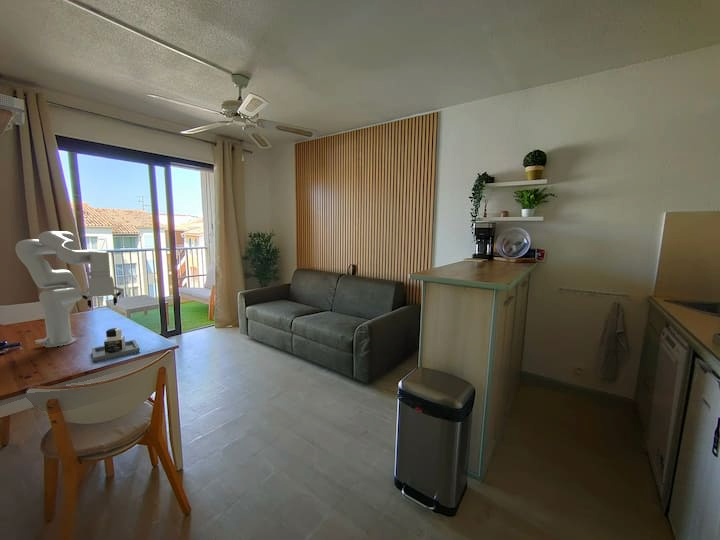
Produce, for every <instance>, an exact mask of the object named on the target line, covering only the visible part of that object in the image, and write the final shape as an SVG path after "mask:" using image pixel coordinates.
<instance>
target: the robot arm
mask: <svg viewBox="0 0 720 540" xmlns="http://www.w3.org/2000/svg"><path fill="white" fill-rule="evenodd" d="M76 242H77V238H76V236H75V234H74V233H72V232H70V231H66V230H64V231H62V230H61V231H60V230H59V231H58V230H52V231H51V230H49V231H47V230H46V231H43V232H41V233H40V234H39V235H37V238H32V239H29V238H28V239H23V240H19V241H18V242H17V243H16V245H15V253H16V255H17V257H18V258H19V260H20V261H21V262H22V264H23V265H25V267H26V268H27V270H28V272H29V274H30V276H31V278H32V280H33V282H34V284H35V285H36V286H37V287H38V288H40V289H46V290H43V291H42V292H40V293H39V295H38V298H39V301H40V302H39V303H40V304H41V306H42V310H43V315H44V316H43V317H44V322H45V323H44V324H45V331H46V337H45V338H43V339H36V340H34V341H35V344H38V345H41V344H42V345H43V347H44V346H45V347H44V348H57V346H59V347H64V346H67V345H70V344H74V343H75V342H76V341H77V338H75V337H73V335H72V334H73V333H72V326H71V318H70V311H69V309H67V307H65V306H64V305H66V304H71V303H76V302H79V301H80V300H82V299H84V300H86V301H87V307H89V308H90V309H91V308H92V298H95V297H96V298H97V297H107V296H113V298H112V300H113V306H116V305H117V304H118V297H119V296H121V295H122V292H123V290H124V289H123V288H121V287H119V286H118V287H117V286H116V285H115V282H114V278H113V276H112V275H111V269H110V253H109V252H108V251H106V250H97V249H76V248H77V243H76ZM52 254H55V255H57V258H58V259H59V260H60V261H62V262H64V263H66V264H68V265H73V266H80V265H89V266H90V271H89V272H87V273H86V275H87V276H90V277H89V278H88V287H87V288H86V289H83V290H82V288H81V286H80V284H79V283H78V281H77V279H76V276H75V274H73V273H72V271H70V270H68V269H53V268H52V267H51V264H50V263H49V262H48V261H47V260H46V259H45V258H43V257H42V256H40V255H52ZM116 290H117V293H116ZM85 293H88V296H86V295H85ZM63 345H64V346H63Z"/></svg>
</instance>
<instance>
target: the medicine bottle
mask: <svg viewBox="0 0 720 540" xmlns="http://www.w3.org/2000/svg"><path fill="white" fill-rule="evenodd" d="M105 333H106V336H105V337H106V339H105V340H104V341H103V346H104V347H105V354H109V353H114V352H119V351H123V350H124V349H125V342H126V338H125V335H124V334H123V335H122V333H123V332H122V328H119V327H114V328H109V329H108V330H106V332H105Z"/></svg>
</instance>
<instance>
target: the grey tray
mask: <svg viewBox="0 0 720 540" xmlns="http://www.w3.org/2000/svg"><path fill="white" fill-rule="evenodd" d="M139 351H140V346H139V345H138V343H137V341H136V339H132V340H125V349H124V350H123V351H119V352H114V353H109V354H105V347H104V345H101V346H97V347H91V356H92V360H93V363H98V362H103V361H107V360H111V359H115V358H116V359H117V358H121V357H124V356H125V355H126V356H129V355H128V354H130V355H132V354H131V353H134V354H136V353H135V352H139ZM139 353H140V352H139Z"/></svg>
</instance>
